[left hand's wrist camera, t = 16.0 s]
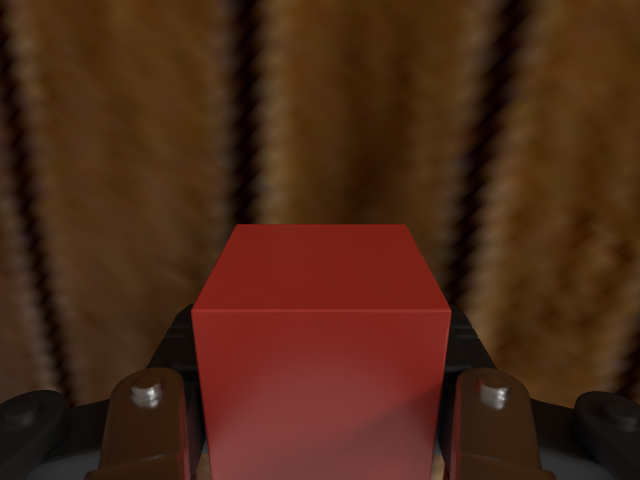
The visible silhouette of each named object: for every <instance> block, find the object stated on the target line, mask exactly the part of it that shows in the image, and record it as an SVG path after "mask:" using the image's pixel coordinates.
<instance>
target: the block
mask: <svg viewBox="0 0 640 480" xmlns="http://www.w3.org/2000/svg"><path fill="white" fill-rule="evenodd" d="M451 312H452V311H451V309H450V307H449V305H448V303H447V301H446V299H445V298H444V296H443V294H442V292H441V290H440V288H439V286H438V284H437V283H436V281H435V279H434V277H433V275H432V273H431V271H430V270H429V268H428V266H427V264H426V262H425V260H424V258H423V256H422V255H421V253H420V251H419V249H418V247H417V245H416V243H415V242H414V240H413V238H412V236H411V234H410V232H409V230H408V228H407V227H406V225H404V224H238V225H236V226H235V228H234V230H233V232H232V234H231V236H230V238H229V239H228V241H227V243H226V245H225V247H224V249H223V251H222V253H221V255H220V256H219V258H218V260H217V262H216V264H215V266H214V268H213V270H212V272H211V273H210V275H209V277H208V279H207V281H206V283H205V285H204V287H203V288H202V290H201V292H200V294H199V296H198V298H197V300H196V302H195V304H194V305H193V307H192V309H191V318H192V326H193V334H194V342H195V350H196V358H197V365H198V373H199V381H200V389H201V397H202V405H203V413H204V421H205V429H206V437H207V445H208V453H209V461H210V469H211V477H212V480H430V477H431V470H432V462H433V454H434V446H435V438H436V430H437V422H438V414H439V407H440V399H441V391H442V383H443V375H444V367H445V359H446V352H447V344H448V336H449V328H450V320H451Z"/></svg>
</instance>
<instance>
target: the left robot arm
mask: <svg viewBox="0 0 640 480" xmlns="http://www.w3.org/2000/svg"><path fill="white" fill-rule="evenodd" d="M193 305H194V304H190V305H189V306H188V307H186V308H185V309H184V310H182V311H181V312H180V313H178V314H177V316H176V317H175V319H174V321H173V323H172V324H171V328H169V330H168V331H167V333H166V335H165V338H163V340H162V342H161V343H160V345H159V347H158V349H157V350H156V352H155V354H154V356H153V357H152V359H151V361H150V363H149V364H148V366H147V368H146V369H144V370H141V371H138V372H135V373H133V374H131V375H129V376H127V377H126V378H124V379H123V380H122V381H120V382H119V383H118V384H117V385H116V386H115V388H114V389H113V391H112V393H111V396H110V399H107V400H104V401H100V402H96V403H91V404H87V405H82V406H78V407H73V408H69V409H68V407H67V403H66V400H65V397H64V396H63V395H62V394H60V393H59V392H56V391H52V390H38V391H32V392H28V393H25V394H21V395H19V396H16V397H14V398H12V399H9V400H7V401H6V402H4V403H2V404H1V405H0V480H197V475H196V469H197V466H198V463H199V459H200V456H201V454H209V453H208V445H207V437H206V429H205V421H204V413H203V405H202V397H201V389H200V381H199V373H198V365H197V358H196V350H195V342H194V334H193V326H192V318H191V309H192V307H193ZM448 305H449V307H450V309H451V311H452V312H451V320H450V328H449V336H448V344H447V352H446V359H445V367H444V375H443V383H442V391H441V399H440V407H439V414H438V422H437V430H436V438H435V446H434V454H433V455H442V456H443V460H444V463H445V468H444V475H443V480H640V405H639V404H637V403H636V402H634V401H632V400H629V399H627V398H625V397H622V396H620V395H616V394H613V393H608V392H601V391H592V392H586V393H583V394H582V395H580V396H579V397H578V398H577V400H576V403H575V407H574V409H572V408H567V407H563V406H558V405H554V404H549V403H545V402H541V401H537V400H535V399H532V398H530V396H529V393H528V391H527V389H526V388H525V386H524V385H523V384H522V383H521V382H520V381H518V380H517V379H516V378H514V377H513V376H511V375H509V374H507V373H505V372H502V371H499V370H497V368H496V366H495V365H494V363H493V361H492V360H491V358H490V356H489V354H488V353H487V351H486V349H485V348H484V346H483V344H482V342H481V341H480V339H478V336H477V334H476V332H475V330H474V329H472V325H471V324H470V322H469V320H468V318H467V317H466V315H465V314H464V313H463V312H461V311H460V310H459V309H457V308H456V307H455V306H453V305H452V304H448Z"/></svg>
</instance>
